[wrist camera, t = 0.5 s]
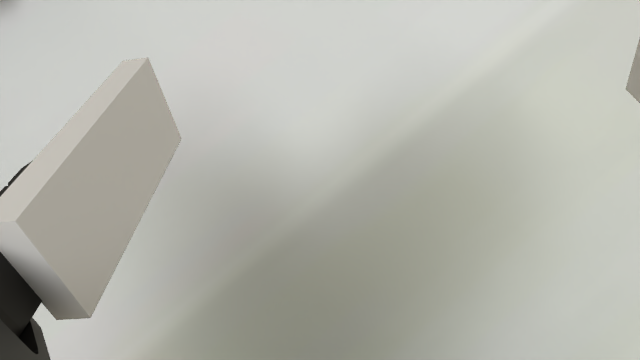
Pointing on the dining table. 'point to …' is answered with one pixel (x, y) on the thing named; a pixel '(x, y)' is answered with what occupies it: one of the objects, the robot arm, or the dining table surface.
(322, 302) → the dining table surface
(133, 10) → the dining table surface
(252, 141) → the dining table surface
